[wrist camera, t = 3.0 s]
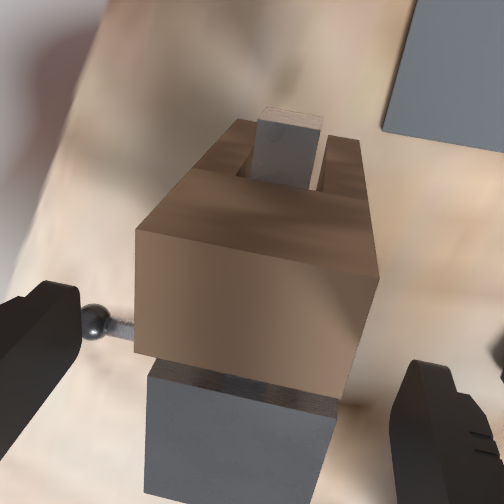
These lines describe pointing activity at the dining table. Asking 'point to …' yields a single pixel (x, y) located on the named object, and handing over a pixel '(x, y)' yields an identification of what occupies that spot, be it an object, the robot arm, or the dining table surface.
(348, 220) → the slotted wooden collar
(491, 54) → the felt pad
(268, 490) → the vise stand
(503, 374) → the dark slate chunk
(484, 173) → the dining table surface
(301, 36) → the dining table surface
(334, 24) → the dining table surface
